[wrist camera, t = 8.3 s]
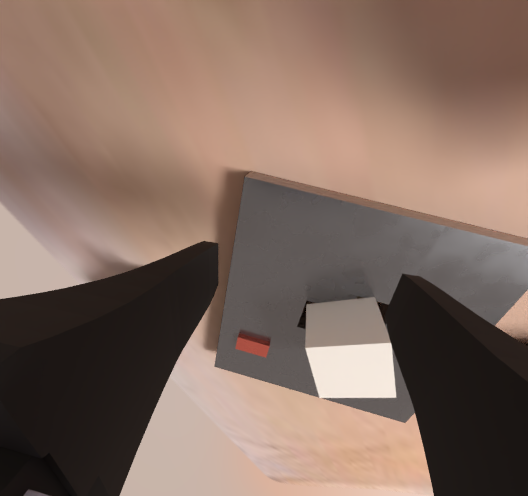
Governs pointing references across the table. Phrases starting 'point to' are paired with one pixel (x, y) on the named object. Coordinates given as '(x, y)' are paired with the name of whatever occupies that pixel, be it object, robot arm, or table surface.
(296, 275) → the socket
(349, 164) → the table surface
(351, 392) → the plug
